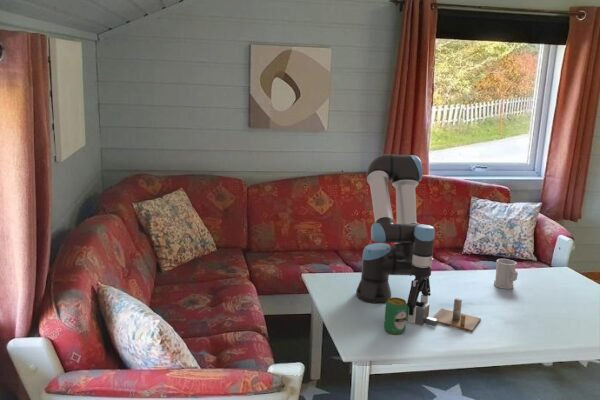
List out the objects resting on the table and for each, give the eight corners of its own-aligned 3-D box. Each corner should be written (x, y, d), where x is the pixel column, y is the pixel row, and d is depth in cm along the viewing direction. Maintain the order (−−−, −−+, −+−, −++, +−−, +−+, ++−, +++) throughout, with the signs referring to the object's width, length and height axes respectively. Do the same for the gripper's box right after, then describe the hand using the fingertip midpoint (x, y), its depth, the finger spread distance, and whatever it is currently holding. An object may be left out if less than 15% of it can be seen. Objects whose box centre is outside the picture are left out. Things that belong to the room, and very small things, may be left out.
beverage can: (391, 336, 202) (393, 306, 200) (379, 327, 209) (382, 298, 207) (409, 333, 205) (412, 303, 203) (397, 324, 212) (399, 295, 210)
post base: (430, 321, 216) (433, 300, 214) (441, 310, 227) (443, 290, 225) (471, 332, 208) (474, 310, 206) (480, 320, 219) (482, 299, 217)
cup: (519, 286, 259) (522, 261, 256) (514, 291, 252) (518, 267, 249) (496, 281, 264) (499, 257, 262) (491, 286, 257) (494, 262, 254)
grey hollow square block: (405, 321, 216) (406, 304, 214) (411, 315, 222) (412, 299, 220) (432, 329, 210) (434, 311, 208) (438, 322, 216) (440, 305, 214)
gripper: (420, 275, 199) (415, 329, 204) (441, 259, 220) (436, 308, 225) (400, 271, 203) (396, 324, 207) (423, 255, 224) (419, 304, 228)
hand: (417, 316), depth 216 cm, fingers open, 13 cm apart
